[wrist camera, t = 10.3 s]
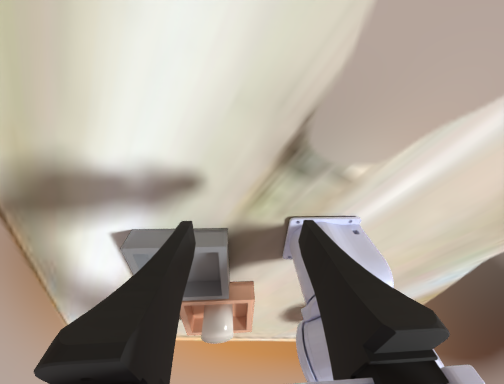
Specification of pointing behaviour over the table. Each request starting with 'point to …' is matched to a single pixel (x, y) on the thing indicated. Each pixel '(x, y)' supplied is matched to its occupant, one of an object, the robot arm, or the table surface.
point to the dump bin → (238, 296)
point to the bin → (203, 266)
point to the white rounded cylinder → (217, 323)
